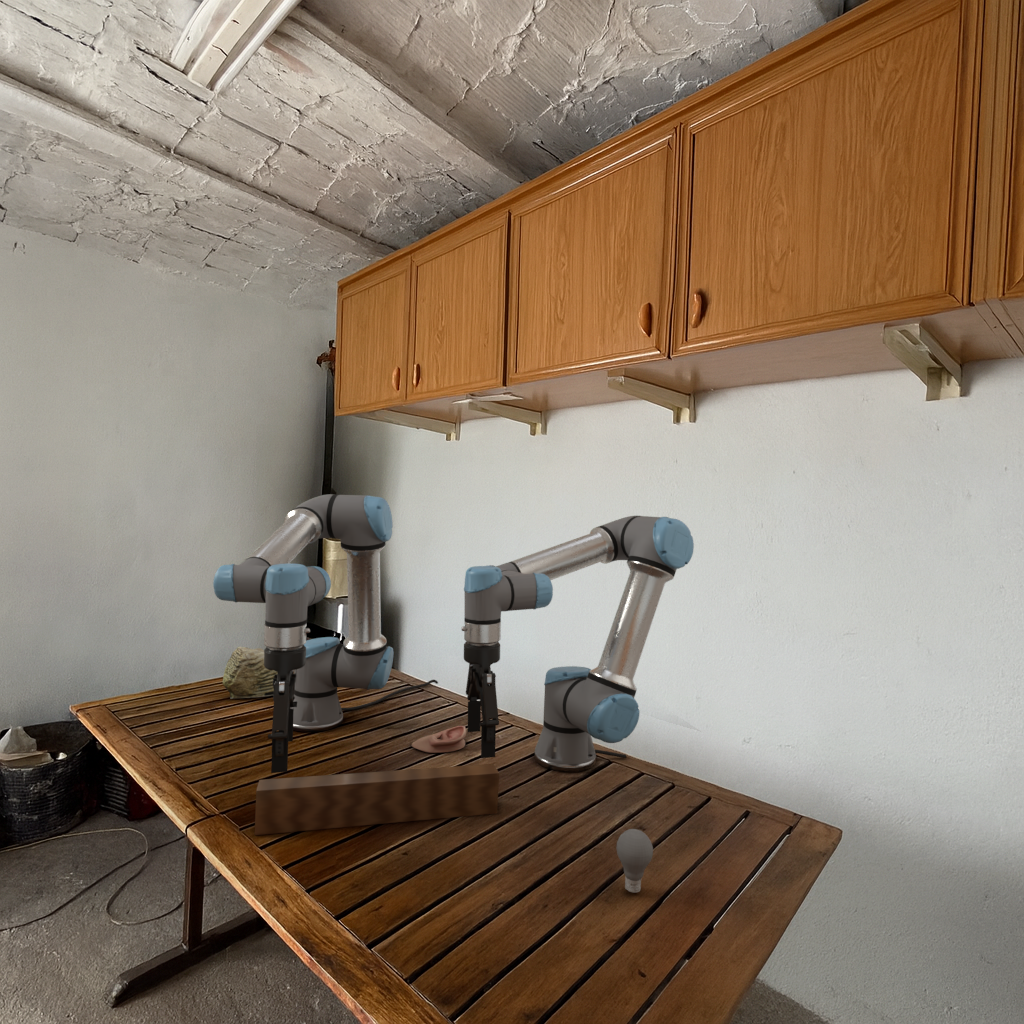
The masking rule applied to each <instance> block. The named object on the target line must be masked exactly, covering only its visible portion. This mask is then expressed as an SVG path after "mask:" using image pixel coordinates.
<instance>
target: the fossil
mask: <svg viewBox="0 0 1024 1024" xmlns="http://www.w3.org/2000/svg"><path fill="white" fill-rule="evenodd" d="M264 650H265V649H263V648H260V647H258V648H251V647H247V646H246V647H245V646H238V647H237V648H236V649H235V650H233V651H232V653H231V656H230V657H229V659H228V660H227V663H226V666H225V668H224V671H223V675H222V676H223V677H222V685H223V687H224V688H225V690H226V691H228V693H229V698H230V699H250V698H264V697H271V696H272V697H273V691H274V688H273V679H274V675H275V674H277V673H278V672H276V671H274V670H268V669H266V668H265V666H264Z"/></svg>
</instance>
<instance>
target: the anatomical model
mask: <svg viewBox="0 0 1024 1024" xmlns="http://www.w3.org/2000/svg"><path fill="white" fill-rule="evenodd" d="M466 735H467V728H466V726H464V725H458V726H453V727H450V728H446V729H443V730H441V731H439V732H436V733H433V734H429V735H424V736H422V737H420V738H418V739H416V740H415V741H413V742H412V743H411V747H412V748H414V749H417V750H419V751H421V752H425V753H430V754H433V753H434V754H436V753H449V752H455V751H458V750H461V749H463V748H465V746H466V740H465V737H466Z"/></svg>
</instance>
